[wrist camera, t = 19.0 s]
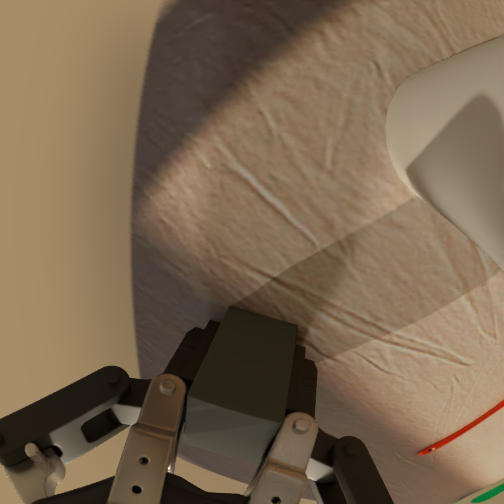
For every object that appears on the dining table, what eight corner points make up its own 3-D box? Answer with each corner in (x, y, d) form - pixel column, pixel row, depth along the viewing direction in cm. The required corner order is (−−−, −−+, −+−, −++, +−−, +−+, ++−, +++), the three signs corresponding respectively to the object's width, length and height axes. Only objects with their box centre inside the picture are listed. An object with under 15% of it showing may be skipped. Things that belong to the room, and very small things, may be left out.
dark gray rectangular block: (217, 361, 14) (183, 442, 10) (229, 305, 12) (186, 394, 8) (275, 377, 14) (256, 464, 9) (297, 324, 12) (283, 422, 8)
